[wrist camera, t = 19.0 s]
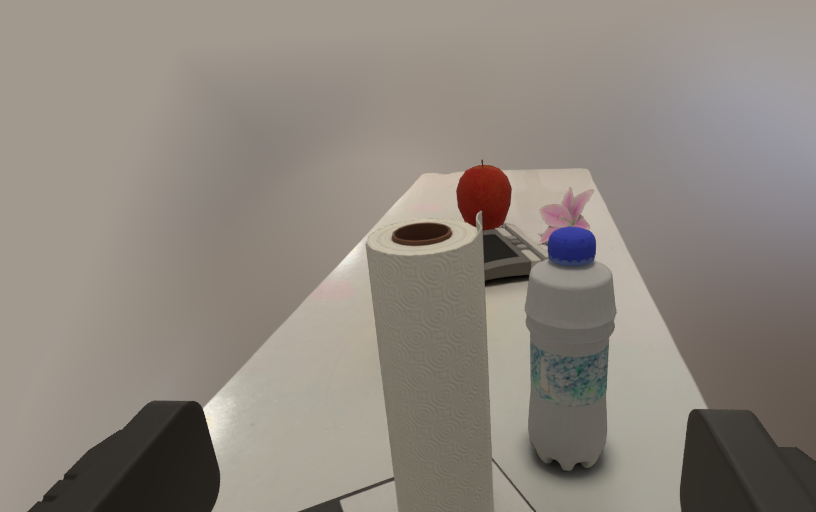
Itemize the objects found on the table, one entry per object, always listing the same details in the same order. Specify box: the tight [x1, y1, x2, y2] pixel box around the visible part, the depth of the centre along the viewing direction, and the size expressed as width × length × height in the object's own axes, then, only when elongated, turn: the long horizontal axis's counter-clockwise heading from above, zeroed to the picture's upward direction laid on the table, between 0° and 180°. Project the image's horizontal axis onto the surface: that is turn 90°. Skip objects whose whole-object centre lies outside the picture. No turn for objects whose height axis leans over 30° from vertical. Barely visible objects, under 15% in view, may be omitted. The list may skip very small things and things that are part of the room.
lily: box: [540, 187, 594, 244], centre depth 91 cm, size 12×12×10 cm
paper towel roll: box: [366, 211, 494, 512], centre depth 32 cm, size 7×6×21 cm
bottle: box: [525, 227, 616, 471], centre depth 42 cm, size 7×7×20 cm
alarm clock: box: [483, 224, 548, 280], centre depth 86 cm, size 17×5×16 cm
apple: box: [456, 160, 512, 230], centre depth 101 cm, size 10×10×14 cm
